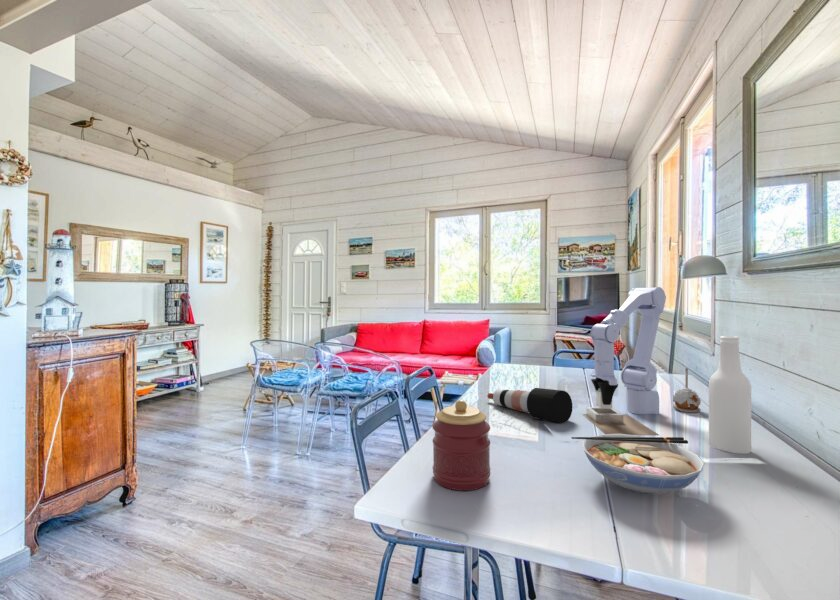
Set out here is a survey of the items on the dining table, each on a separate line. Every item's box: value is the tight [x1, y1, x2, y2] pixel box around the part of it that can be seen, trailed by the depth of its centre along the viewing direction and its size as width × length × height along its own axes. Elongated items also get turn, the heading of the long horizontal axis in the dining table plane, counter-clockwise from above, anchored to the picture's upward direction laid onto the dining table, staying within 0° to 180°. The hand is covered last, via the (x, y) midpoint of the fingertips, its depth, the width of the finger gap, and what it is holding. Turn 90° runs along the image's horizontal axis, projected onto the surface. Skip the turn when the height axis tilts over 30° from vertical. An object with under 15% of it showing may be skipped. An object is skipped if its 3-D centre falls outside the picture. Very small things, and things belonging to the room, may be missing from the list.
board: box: [581, 413, 660, 436], centre depth 123 cm, size 15×20×1 cm
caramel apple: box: [672, 367, 702, 413], centre depth 140 cm, size 8×8×15 cm
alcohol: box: [708, 335, 752, 454], centre depth 104 cm, size 9×9×30 cm
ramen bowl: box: [571, 433, 705, 495], centre depth 85 cm, size 25×23×8 cm
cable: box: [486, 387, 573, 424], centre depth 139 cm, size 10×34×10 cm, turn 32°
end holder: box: [585, 406, 623, 423], centre depth 128 cm, size 8×8×2 cm
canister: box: [432, 399, 492, 491], centre depth 89 cm, size 13×13×18 cm
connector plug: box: [595, 388, 613, 409], centre depth 128 cm, size 4×4×7 cm
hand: (604, 402), depth 128 cm, fingers closed on connector plug, 4 cm apart
